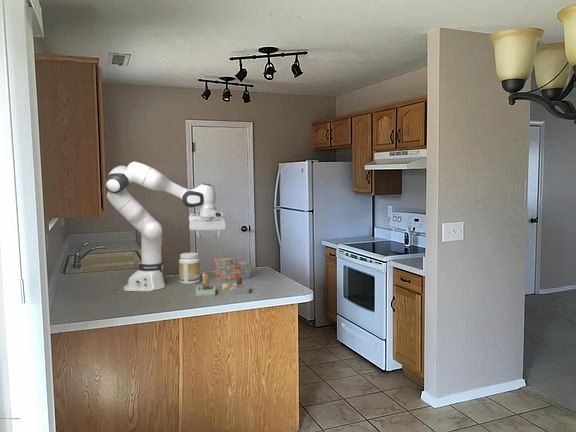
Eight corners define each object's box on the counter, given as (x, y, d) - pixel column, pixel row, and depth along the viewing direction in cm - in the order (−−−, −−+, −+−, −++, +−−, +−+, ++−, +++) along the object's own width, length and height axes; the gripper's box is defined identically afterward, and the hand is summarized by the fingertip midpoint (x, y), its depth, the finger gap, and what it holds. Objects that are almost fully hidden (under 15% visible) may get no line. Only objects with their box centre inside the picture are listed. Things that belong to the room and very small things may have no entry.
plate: (222, 290, 271) (222, 286, 271) (222, 288, 277) (222, 283, 277) (236, 290, 272) (236, 285, 272) (236, 287, 278) (236, 283, 278)
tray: (195, 296, 258) (195, 290, 258) (197, 291, 268) (197, 285, 268) (215, 295, 259) (214, 289, 259) (215, 290, 269) (215, 285, 269)
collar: (234, 293, 262) (233, 288, 262) (234, 290, 270) (234, 284, 270) (249, 293, 263) (248, 288, 263) (248, 289, 271) (248, 284, 271)
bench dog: (236, 289, 272) (236, 278, 271) (236, 287, 277) (236, 276, 276) (242, 289, 272) (242, 278, 272) (242, 287, 277) (241, 276, 277)
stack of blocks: (248, 275, 306) (248, 256, 304) (250, 278, 300) (250, 258, 298) (214, 278, 300) (213, 258, 298) (215, 280, 294) (215, 260, 292)
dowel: (202, 293, 262) (202, 274, 261) (203, 291, 265) (202, 273, 264) (208, 292, 262) (208, 274, 261) (209, 291, 266) (208, 273, 264)
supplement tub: (202, 279, 295) (202, 252, 293) (197, 284, 283) (196, 256, 281) (183, 279, 296) (182, 252, 294) (176, 284, 284) (175, 255, 282)
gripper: (188, 213, 265) (188, 239, 266) (226, 213, 266) (226, 238, 268) (189, 212, 271) (189, 237, 272) (226, 212, 273) (226, 237, 274)
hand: (208, 238), depth 270 cm, fingers open, 8 cm apart
